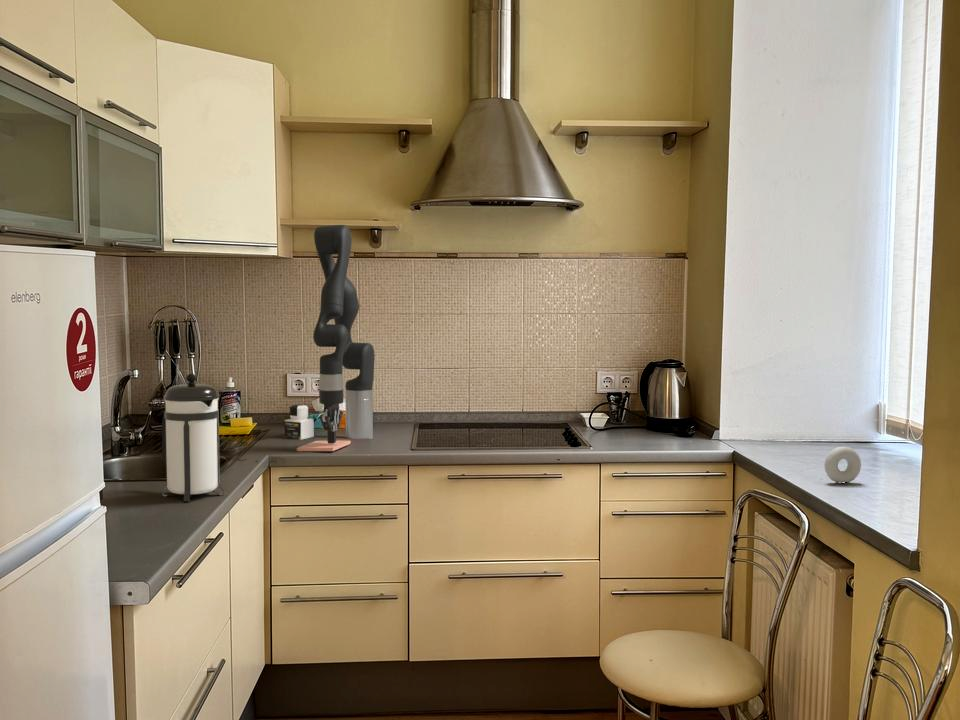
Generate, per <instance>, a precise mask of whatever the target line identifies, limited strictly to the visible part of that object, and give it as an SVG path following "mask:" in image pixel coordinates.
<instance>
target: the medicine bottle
mask: <svg viewBox="0 0 960 720" xmlns="http://www.w3.org/2000/svg"><path fill="white" fill-rule="evenodd" d="M289 417H290V418H287V419H285V420H284V425H283V426H284V438H285V439H293V440H299V441H300V440H301V441H302V440H304V439H305V440H306V439H309V438H314V437H315V434H314V433H315V425H314V424H315V422H314V419H313V418H309V406H307V405H305V404H294V405H291V406H290V407H289Z"/></svg>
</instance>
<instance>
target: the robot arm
mask: <svg viewBox="0 0 960 720" xmlns="http://www.w3.org/2000/svg"><path fill="white" fill-rule="evenodd" d="M313 238H314V239H313V241H314V245H315V249H316V253H317V256H318V259H319V262H320V266H321V268H322V269H321V270H322V272H323V276H324V280H325V282H324V284H323V285H322V288H321V292H320V293H321V294H320V311H319V315H318V318H317V321H316V325H315V326H314V330H313V333H312V334H313V337H312V338H313V342H314V344H315V346H316V347H320V348H335V349H334V352H332V353H328V354H323V355H321V356H320V358H319V378H318V393H319V395H318V402H319V404H320V405H323V409H322V412H323V413H322V414H323V415H320V416H319V420H320V423H321V426H322V428H323V431H326V432H327V434H326V435H327V436H326V437H327V441H328V443H329V444H333V443H335V442H336V441H337V436H336V435H337V434H336V433H337V430H338V429H339V428H340V425H341V421H342V418H343V416H344V415H343V413H344V412H343V411H342V410H340V404H343V403H345V438H347V439H352V440H353V439H354V440H360V439H371V440H372V439H373V438H374V433H373V432H374V431H373V430H374V428H373V427H374V426H373V424H374V423H373V420H374V419H373V418H374V417H373V412H374V411H373V410H374V409H373V408H374V406H373V405H374V404H373V400H374V398H373V397H374V396H373V392H374V391H373V390H374V389H373V384H374V381H375V380H374V379H375V357H376V355H375V349H374V346H373V345H372V344H371V343H369V342H353V340H352V327H353V325H354V323H355V320H356V318H357V316H358V314H359V310H360V303H359V298H358V293H357V289H356V287H355V286H354V283H353V282H352V281H351V280H350V279H349V277H347V274H348V273H347V272H348V268H349V263H350V258H351V250H352V244H353V243H352V233H351V230H350V228H349V227H348V225H346V224H336V225H335V224H333V225H332V224H331V225H322V226H320V225H319V226H317V227H316V228H315V230H314V232H313ZM334 255H337V258H336V262H335V259H334ZM331 320H334V324H331V323H330V324H329V321H331ZM343 368H345V369H346V370H358V371H359V374H358V375H357V376H356V377H353V378H352V379H348V380H347V381H346V382H345V390H344V377H343ZM344 392H345V393H344ZM344 394H345V395H344ZM344 396H345V401H344Z"/></svg>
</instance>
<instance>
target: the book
mask: <svg viewBox="0 0 960 720" xmlns="http://www.w3.org/2000/svg"><path fill="white" fill-rule="evenodd" d="M350 444H351V440H336V442H335V443H333V444H329V443H328V440H314V441H312V442H310V443H309V442H308V443H306V444H304V445H301V446H298V447H297V448H296V452H335V451H336V450H339V449H341V448H344V447H346V446H348V445H350Z"/></svg>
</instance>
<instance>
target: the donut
mask: <svg viewBox="0 0 960 720" xmlns="http://www.w3.org/2000/svg"><path fill="white" fill-rule="evenodd" d="M841 460H845V461H846V462H847V467H846V468H845V469H844V470H840V469H839V463H840V462H841ZM861 467H862V460H861V458H860V456H859V454H858V453H857V452H856V450H854V449H852V448H851V447H849V446H839V447H835V448H833V449H832V450H831V451H830V452H829V453H828V454H827V456H826V458H825V460H824V470H825V473H826V475H827V477H828V478H829V479H830V480H831V481H833V482H834V481H835V483H836V482H849V483H850V482H852V481H854V480H855V479H856V478H857V477H858V476H859V474H860V472H861Z"/></svg>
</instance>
